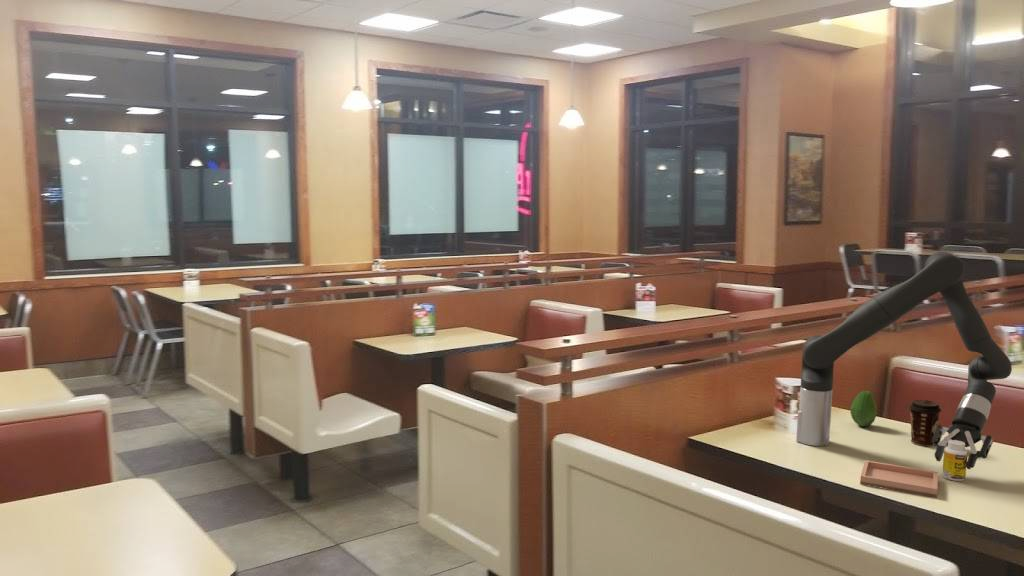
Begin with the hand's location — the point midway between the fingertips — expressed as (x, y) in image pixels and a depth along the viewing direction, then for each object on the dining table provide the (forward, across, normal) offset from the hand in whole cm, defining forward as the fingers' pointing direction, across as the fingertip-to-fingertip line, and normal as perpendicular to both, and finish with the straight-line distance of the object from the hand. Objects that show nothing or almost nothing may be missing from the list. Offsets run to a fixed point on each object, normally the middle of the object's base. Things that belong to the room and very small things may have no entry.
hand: (952, 463), depth 209 cm
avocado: (-17, -38, +24) cm, 48 cm away
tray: (+13, -8, -6) cm, 16 cm away
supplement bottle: (+2, 0, +4) cm, 5 cm away
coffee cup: (-15, -17, +22) cm, 32 cm away
